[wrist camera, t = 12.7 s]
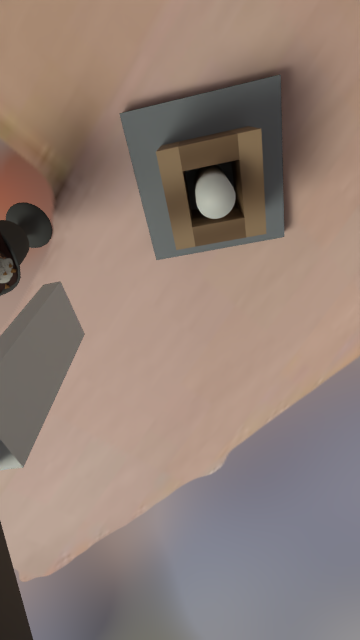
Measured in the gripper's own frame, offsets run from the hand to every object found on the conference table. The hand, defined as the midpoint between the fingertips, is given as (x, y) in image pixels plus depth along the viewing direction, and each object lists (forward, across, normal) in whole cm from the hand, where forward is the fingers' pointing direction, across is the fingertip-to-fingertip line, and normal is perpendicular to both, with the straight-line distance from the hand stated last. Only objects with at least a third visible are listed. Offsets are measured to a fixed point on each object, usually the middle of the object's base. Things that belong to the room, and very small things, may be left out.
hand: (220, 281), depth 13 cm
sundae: (+23, -19, -1) cm, 30 cm away
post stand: (+23, +1, 0) cm, 23 cm away
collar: (+22, +1, 0) cm, 22 cm away
